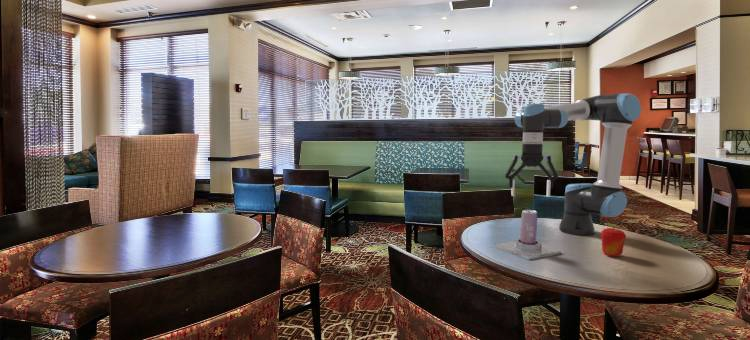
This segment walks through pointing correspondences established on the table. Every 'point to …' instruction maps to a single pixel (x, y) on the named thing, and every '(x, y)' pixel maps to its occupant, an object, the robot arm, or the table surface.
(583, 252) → the table surface
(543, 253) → the duct flange
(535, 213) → the beverage can
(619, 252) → the red bell pepper
